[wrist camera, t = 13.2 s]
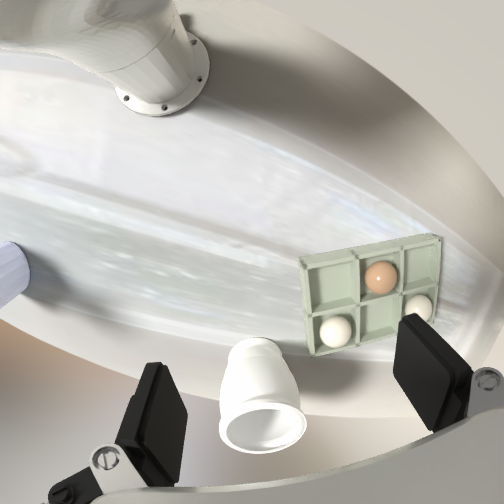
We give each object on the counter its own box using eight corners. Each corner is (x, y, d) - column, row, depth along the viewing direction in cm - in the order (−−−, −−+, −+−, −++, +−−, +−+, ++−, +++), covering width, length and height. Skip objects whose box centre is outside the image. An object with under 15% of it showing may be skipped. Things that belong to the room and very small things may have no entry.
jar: (229, 324, 42) (228, 397, 27) (297, 336, 43) (320, 407, 29) (216, 377, 45) (211, 449, 30) (276, 386, 46) (289, 456, 32)
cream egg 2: (400, 293, 41) (415, 306, 36) (423, 286, 41) (439, 298, 36) (398, 318, 42) (412, 333, 38) (421, 311, 42) (435, 324, 38)
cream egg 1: (315, 313, 41) (323, 330, 36) (345, 307, 41) (356, 322, 36) (317, 339, 42) (324, 357, 38) (345, 332, 42) (355, 349, 38)
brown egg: (359, 259, 39) (372, 271, 34) (387, 253, 39) (403, 264, 34) (359, 289, 40) (372, 303, 36) (387, 282, 40) (401, 296, 36)
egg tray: (297, 257, 39) (302, 265, 36) (429, 232, 39) (441, 237, 36) (306, 345, 44) (311, 357, 41) (424, 314, 44) (433, 322, 41)
